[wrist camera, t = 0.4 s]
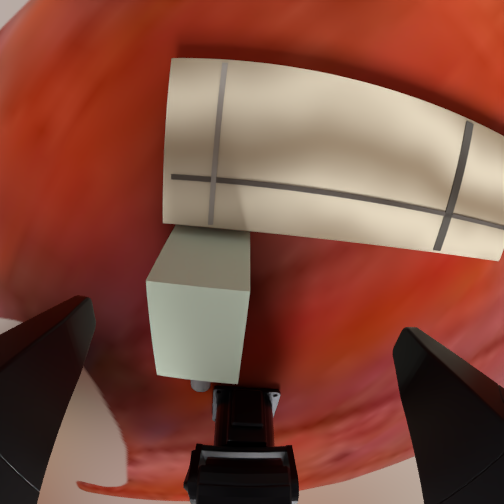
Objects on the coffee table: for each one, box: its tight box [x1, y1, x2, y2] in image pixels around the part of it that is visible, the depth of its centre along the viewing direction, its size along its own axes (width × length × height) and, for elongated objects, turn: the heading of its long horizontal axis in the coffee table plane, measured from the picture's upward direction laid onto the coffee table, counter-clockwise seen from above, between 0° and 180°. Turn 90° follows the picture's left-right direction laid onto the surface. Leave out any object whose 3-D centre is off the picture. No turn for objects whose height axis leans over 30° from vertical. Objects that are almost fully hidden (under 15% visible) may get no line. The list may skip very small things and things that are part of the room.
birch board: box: [163, 58, 504, 261], centre depth 18 cm, size 10×27×2 cm, turn 84°
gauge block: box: [146, 225, 250, 392], centre depth 20 cm, size 10×5×7 cm, turn 174°
